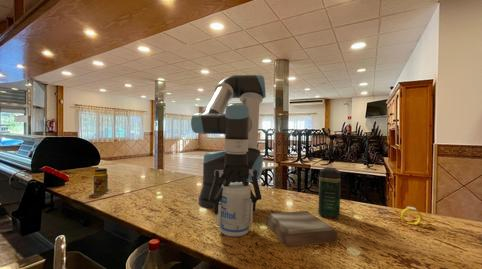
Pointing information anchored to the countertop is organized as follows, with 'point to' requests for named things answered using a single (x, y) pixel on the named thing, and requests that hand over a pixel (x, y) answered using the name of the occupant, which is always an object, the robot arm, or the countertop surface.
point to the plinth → (300, 228)
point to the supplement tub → (235, 209)
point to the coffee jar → (329, 192)
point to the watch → (411, 210)
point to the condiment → (100, 181)
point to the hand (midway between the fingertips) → (234, 222)
